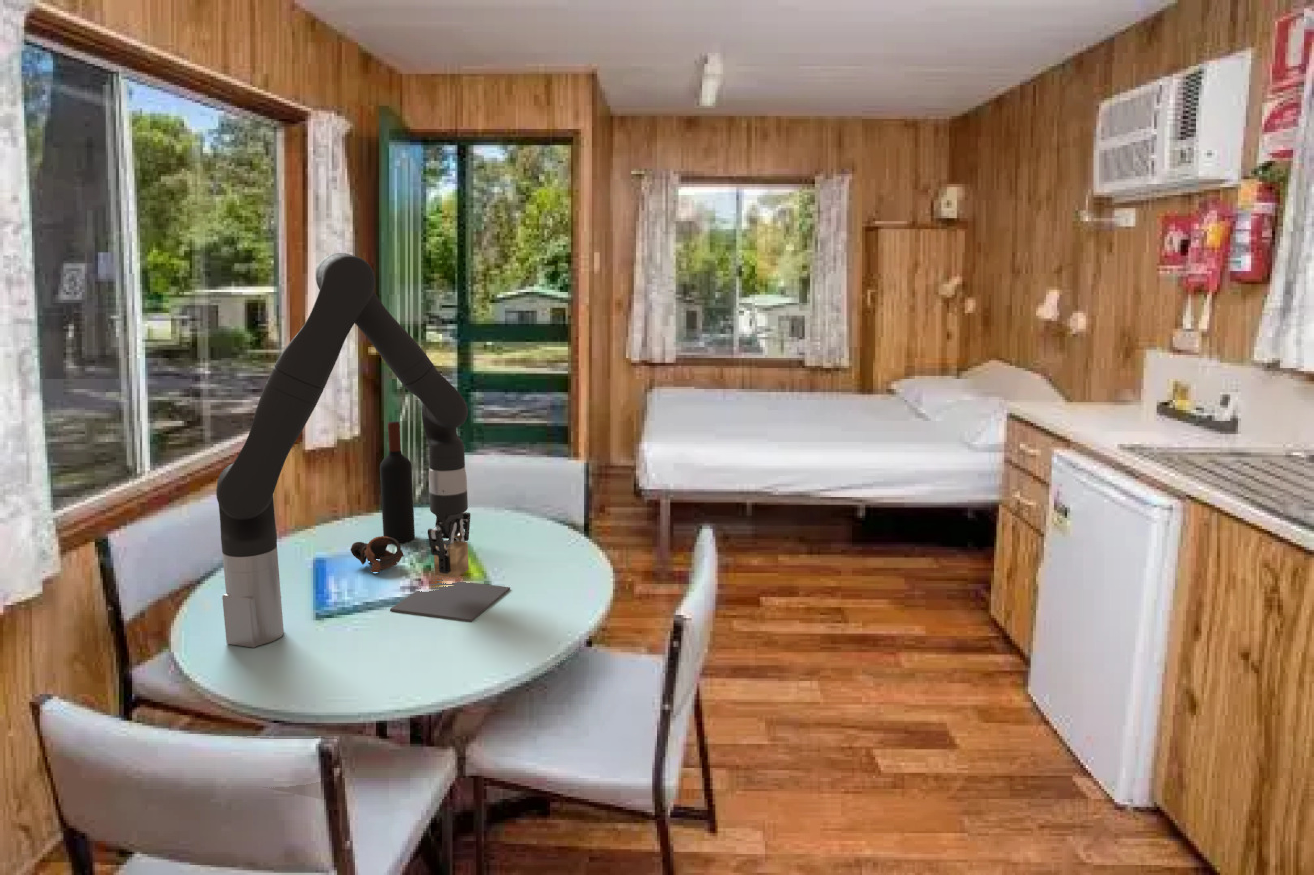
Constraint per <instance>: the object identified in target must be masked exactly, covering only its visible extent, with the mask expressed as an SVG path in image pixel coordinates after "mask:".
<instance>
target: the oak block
mask: <svg viewBox="0 0 1314 875" xmlns="http://www.w3.org/2000/svg"><path fill="white" fill-rule="evenodd" d="M447 540H448V539H445V541H447ZM468 544H469V542H468V541H465V542H460V541H454V542H453V544H452V545H451V547H450V554H449V556H450V572H449V573H448V574H446V573H440V572H439V557H438V556H437V555H433V559H434V560H433V561H434V576H438V577H439V576H441V577H449V578H454V579H455V578H459V577H460V576H462V575H463V574H464V573H466V572H467V571H468V570H469V549H468V546H469V545H468ZM444 548H446V545H445V544H444ZM436 549H437V546H436Z"/></svg>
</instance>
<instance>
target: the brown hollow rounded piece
mask: <svg viewBox="0 0 1314 875" xmlns="http://www.w3.org/2000/svg"><path fill="white" fill-rule="evenodd" d="M391 543H393V544H391ZM389 545H395V547H396V551H395V552H394V553H393V552H391V551H389V550H387V548H388V546H389ZM350 552H351V554H352V556H353V557H354V558H356V559H357V560H358V561H360V563H361V565H364V564H366V562H368V561H370V562H371V563H370V564H371V568H370V572H371V571H372V572H379V573H380V572H381V571H384V570H387V569H389V568H392V567H394V566H396V565H397V564H398V563H399V562H400V561H401V559H402V558H403V557H404V556H405V555H404V552H403V551H402V547H401V544H399V542H398V541H397V540H396V539H394V538H391V537H387V536H383V535H382V536H376V537H374V538H372V539H371V540H369V542H368V543H366V542H362V541H356V542H354V543H352V545H351V547H350ZM376 559H378V560H376ZM372 572H371V573H372Z"/></svg>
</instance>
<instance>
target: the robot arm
mask: <svg viewBox="0 0 1314 875" xmlns="http://www.w3.org/2000/svg"><path fill="white" fill-rule="evenodd" d="M315 282H316V285H317V288H318V289H319V291H318V294H317V297H316V300H315V302H314V305H313V307H312V309H311V312H310V314H309V316H308V318H307V319H306V321H305V322H304V324H303V325H302V327H301V328H300V330H299V331H298V332H297V333H296V335H295V336H294V337H293V338H292V339H291V341H290V342H289V343H288V344H287V346H286V347H285V349H284V350H283V351H282V352H281V353H280V355H279V357H278V359H277V360H276V362H275V364H274V367H273V368H272V370H271V373H270V374H269V377H268V379H267V380H266V383H265V385H264V387H263V390H262V392H261V394H260V397H259V400H258V403H257V406H256V408H255V412H254V416H253V419H252V423H251V427H250V430H249V432H248V433H249V434H248V436H247V438H246V440H245V443H244V444H243V445H242V448H241V450H239V451H240V452H239V453H238V454H237V457H236V458H235V460H234V462H233V463H230V464H229V465H227V466H226V467H225V468H224V469H223V470H222V471H221V473H220V474H219V476H218V478H217V482H216V491H215V495H216V501H217V503H218V512H219V523H220V524H219V525H220V544H221V552H222V562H223V563H222V564H223V574H224V583H225V584H224V585H225V593H224V594H223V595H222V596H221V600H222V608H223V618H224V621H223V622H224V629H225V631H224V632H225V641H226V644H227V645H234V646H241V647H246V648H254V649H255V648H257V647H258V646H262V645H266V644H269V643H272V642H274V641H276V640H278V639H279V638H281V637H282V636H283V635H284V633H285V629H284V616H283V606H282V605H283V604H282V592H281V581H280V580H281V578H280V568H279V566H280V565H279V555H278V554H279V552H278V542H277V540H278V538H277V526H276V517H275V514H276V513H275V501H274V493H275V490H276V487H277V484H278V481H279V478H280V476H281V473H282V470H283V468H284V464H285V462H286V460H287V458H288V456H289V454H290V452H291V450H292V449H293V446H294V444H295V443H296V442H297V440H298V438H299V437H300V435H301V433H302V432H303V430H304V428H305V427H306V424H307V423H308V421H309V420H310V417H311V415H312V414H313V412H314V410H315V408H316V406H317V405H318V402H319V400H320V398H321V396H322V394H323V392H324V390H325V388H326V385H327V384H328V380H329V378H330V376H331V374H332V372H333V370H334V367H335V365H336V362H337V361H338V358H339V356H340V354H341V351H342V348H343V346H344V344H345V341H346V339H347V337H348V336H349V334H350V331H351V330H352V329H353V327H354V325H356V327H358V328H359V329H360V331H361V332H362V333H363V334H364V336H365V337H366V338H367V340H368V341H369V342H370V344H372V347H374V349H375V351H376V352H377V353H378V354H379V356H380V357H381V358H382V360H383V361H384V362H385V363H386V365H387V366H388V368H389V369H390V370H391V372H392V373H393V374H394V376H396V378H397V379H398V380H399V382H400V383H401V384H402V386H403V387H404V388H405V389H406V390H407V392H409V393H411V394H413V396H416V397H417V398H418V399H419V401H421V403H422V404H421V419H422V420H421V421H422V424H423V429H424V433H425V437H426V442H427V445H428V464H429V466H428V468H429V469H428V470H429V473H428V491H429V494H428V495H429V496H428V497H429V511H430V513H432V514H433V515H435V517H436V518H435V527H433V528H428V529H427V537H428V543H429V548H430V552H431V555H432V556H434V555H437V556H438V557H439V572H440V573H446V574H448V573H449V572H450V556H449V554H450V547H451V545H452V544H453V542H454V541H460V542H468V541H469V538H470V530H471V529H470V526H471V513H470V512H467V511H468V509H469V506H468V505H469V504H468V503H469V501H468V478H467V472H466V462H465V460H466V459H465V458H466V457H465V455H466V454H465V445H464V442H463V440H462V439H461V438H460V437H459V435H458V432H457V428H459V427H461V426H462V425H463V424H464V423H465V422H466V421H467V418H468V415H469V408H468V405H467V402H466V400H465V398H464V397H463V395H462V394H461V393H460V392H459V391H458V390H457V388H456V387H454V386H453V384H452V383H450V381H448V379H447V378H446V377H444V375H442V374H441V373H440V372H439V371H438V369H437V368H436V366H435V365H434V363H433V362H432V360H431V359H430V358H429V356H428V355H427V354H426V353H425V351H424V350H423V349H422V347H421V346H420V345H419V344H418V342H417V341H415V339H414V337H412V335H410V334H409V332H407V330H406V329H405V328H404V327H403V326H402V325H401V324H400V323H399V322H398V321H397V319H395V318H394V317H393V316H392V314H391V313H390V312H389V310H388V309H387V308H386V307H385V305H384V304H383V302H382V301H381V300H380V298H379V297H378V295H377V294H376V292H375V287H376V275H375V272H374V270H373V268H372V267H371V265H370V264H369V263H368V262H367V261H366V259H365V260H364V259H363V258H361V257H360V256H359V257H358V256H357V255H354V254H350V253H346V252H337V253H336V252H334V253H330V254H328V255H327V256H325V257H323V258H322V259H321V260H320V261H319V263H318V265H317V267H316V269H315ZM444 539H445V540H447V541H445V540H444ZM444 544H445V545H446V548H444ZM436 546H437V549H436Z"/></svg>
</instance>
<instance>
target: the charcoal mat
mask: <svg viewBox="0 0 1314 875" xmlns="http://www.w3.org/2000/svg"><path fill="white" fill-rule="evenodd" d="M434 581H435V580H434ZM437 581H440V580H437ZM441 581H443V580H441ZM466 582H467V581H462V582H457V583H452V584H446V583H445V584H444V583H443V584H442V583H437V584H430V585H454V586H448V587H446V586H445V587H444V586H443V587H439V588H438V587H437V588H436V587H435V588H431V589H439V590H435V591H434V590H433V591H429V592H422V591H421V592H420V591H417V590H416V591H414V592H413V593H411V594H410V595H408V596H407V597H405V598H404V599H403V600H401V601H400V602H398V603H396V604H395V605H393V606H392V607H391V608H389V609H390V612H394V613H403V614H409V615H410V614H411V615H417V616H418V615H419V616H425V617H433V618H440V619H447V620H455V621H461V622H473V621H475V619H476V618H478V617H479V616H480V615H481V614H482V613H484V612H485V611H486V610H488V609H489V608H490V607H491V606H492V605H493V604H495V603H496V602H497V601H498V600H499V599H500V598H502V597H503V596H504V595H505V594H506V593H508V592H509V591H510V590H511V587H509V586H503V585H502V586H501V585H493V584H485V583H478V582H477V583H476V582H470V583H466ZM421 588H422V587H420V588H419V589H421Z"/></svg>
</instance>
